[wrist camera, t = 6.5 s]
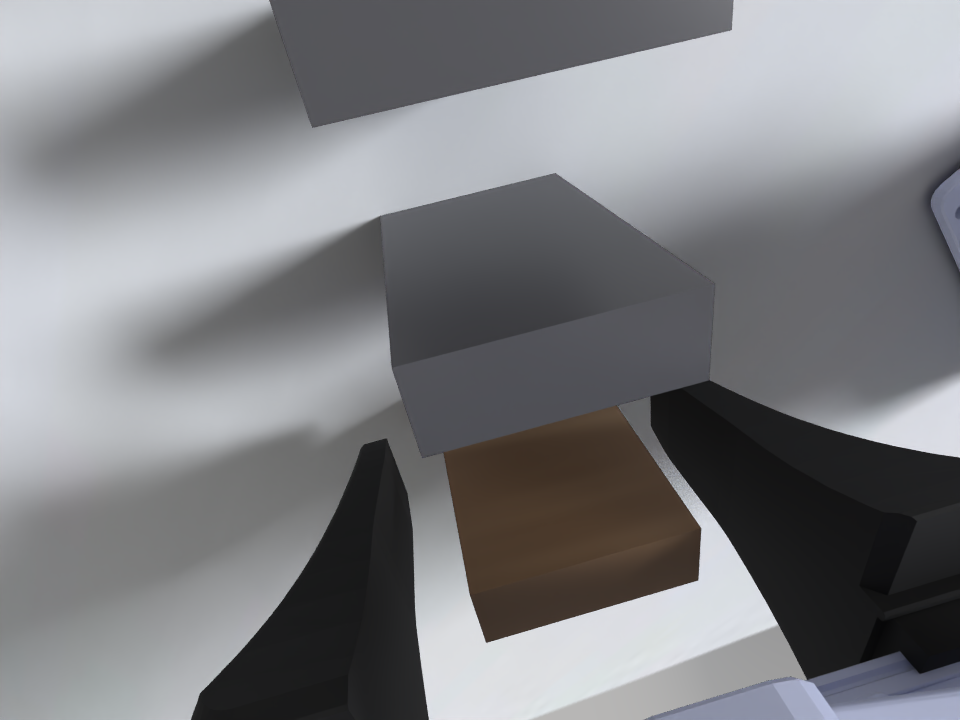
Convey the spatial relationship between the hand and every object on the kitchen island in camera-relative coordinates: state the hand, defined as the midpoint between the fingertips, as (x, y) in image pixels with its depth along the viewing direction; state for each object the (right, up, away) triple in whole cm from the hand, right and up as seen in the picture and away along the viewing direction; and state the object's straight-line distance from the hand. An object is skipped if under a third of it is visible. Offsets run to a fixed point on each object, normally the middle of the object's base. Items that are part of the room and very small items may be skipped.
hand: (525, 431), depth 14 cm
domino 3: (0, +1, +2) cm, 2 cm away
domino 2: (-1, +5, -1) cm, 5 cm away
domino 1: (-2, +9, -3) cm, 10 cm away
